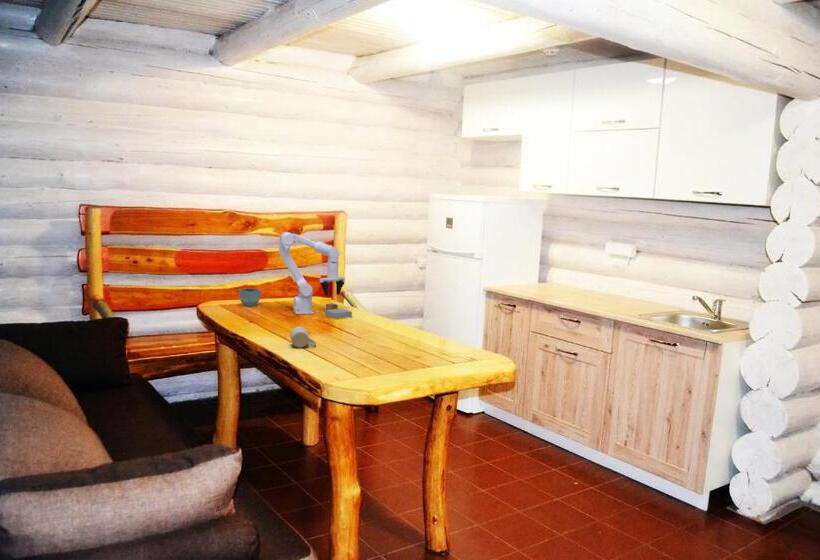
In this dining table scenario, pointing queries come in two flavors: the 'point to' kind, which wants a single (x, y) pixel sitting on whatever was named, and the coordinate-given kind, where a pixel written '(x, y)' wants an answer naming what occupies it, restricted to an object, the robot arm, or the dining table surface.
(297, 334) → the ceramic mug
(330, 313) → the base block
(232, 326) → the dining table surface
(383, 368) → the dining table surface
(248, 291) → the flower pot
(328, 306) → the walnut cube
